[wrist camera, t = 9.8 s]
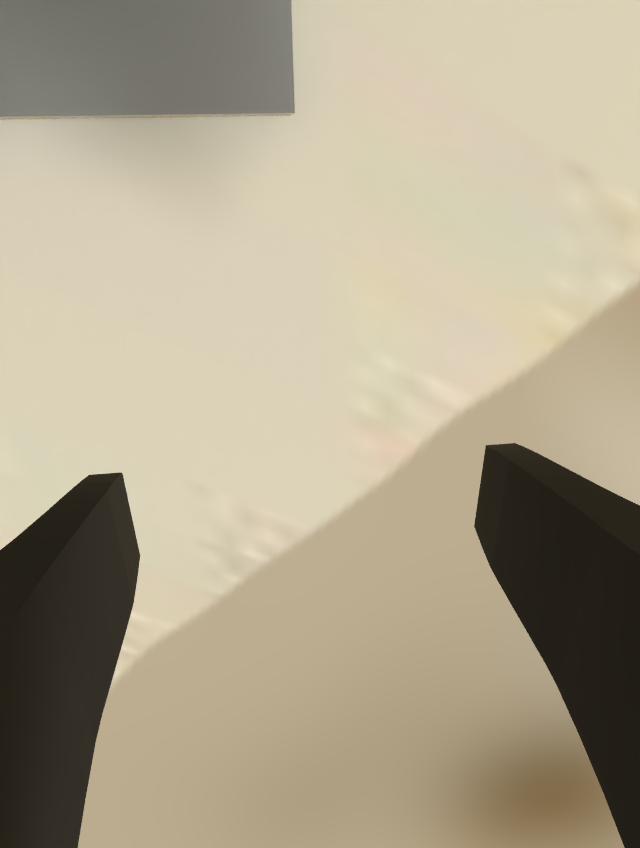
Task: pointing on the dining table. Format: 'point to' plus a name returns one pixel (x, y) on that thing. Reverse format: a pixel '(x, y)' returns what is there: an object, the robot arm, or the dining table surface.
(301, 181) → the dining table surface
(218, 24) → the socket plate
